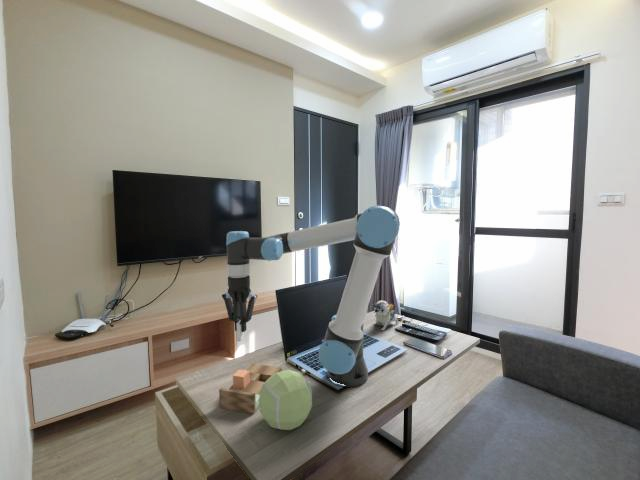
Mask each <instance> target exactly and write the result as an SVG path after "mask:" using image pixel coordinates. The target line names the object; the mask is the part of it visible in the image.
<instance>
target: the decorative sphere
mask: <svg viewBox="0 0 640 480" xmlns="http://www.w3.org/2000/svg"><path fill="white" fill-rule="evenodd" d="M312 392H313V391H312V387H311V385H310V384H309V382H308V380H307V379H306V378H305V377H304V376H303V374H301V373H299V372H298V371H295V370H294V371H293V370H290V369H285V370H282V371H281V372H278V373H275V374H273V375H272V376H271V377H270V378H268V379H267V380H266V382H265V383H264V384H263V386H262V389H261V391H260V396H259V408H258V410H259V413H260V414H261V416H262V417H263V419H264V420H265V421H266V422H267V424H268V425H269V427H271V428H272V429H278V430H283V431H292V430H293V429H297V428H298V427H299V426H301V425H302V424H303V423H304V422H305V421H306V419H307V418H308V416H309V413H310V412H311V409H312V407H313V393H312Z"/></svg>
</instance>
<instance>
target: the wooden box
mask: <svg viewBox="0 0 640 480" xmlns="http://www.w3.org/2000/svg"><path fill="white" fill-rule="evenodd" d="M246 371H249V373H250V382H249V383H248V385H247V386H246V387H245V388H238V387H233V384H232V385H231V386H230V387H229V388H224V387H223V388H222V387H220V388H219V390H218V395H219V396H218V397H219V408H220V409H225V410H232V411H237V412H242V413H249V414H253V415H254V414H256V412H258V410H259V396H260V391H261V389H262V386H263V384H264V383H265V382H266V380H267V379H268V378H270V377H271V376H272V375H273V374H275V373H278V372H281V371H283V368H282V367H281V366H274V365H265V364H259V363H252V364H250V366H249V367H248V368H247V369H246Z"/></svg>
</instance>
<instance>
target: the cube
mask: <svg viewBox="0 0 640 480" xmlns="http://www.w3.org/2000/svg"><path fill="white" fill-rule="evenodd" d="M246 370H247V369H246ZM246 370H245V369H238V370H237V371H236V372H235V373H234V374H232V385H233V387H238V388H245V387H246V386H247V385H248V383H249V382H250V373H249V371H246Z"/></svg>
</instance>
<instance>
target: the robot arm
mask: <svg viewBox="0 0 640 480" xmlns="http://www.w3.org/2000/svg"><path fill="white" fill-rule="evenodd" d="M400 224H401V223H400V217H399V216H398V214H397V213H396V211H395V210H393V208H391V207H388V206H385V205H384V206H383V205H373V206H369V207H368V208H367V209H365V210H364V211H363V212H362V213H357V214H356V215H355V216H354V217H352V218H349V219H348V218H347V219H343V220H339V221H335V222H329V223H325V224H322V225H321V224H320V225H316V226H311V227H307V228H302V229H298V230H293V231H289V232H284V233H279V234H278V233H277V234H274V235H270V236H267V237H266V236H265V237H250V233H249V232H248V231H243V230H239V231H238V230H236V231H235V230H234V231H228V232H227V233H226V243H225V246H226V259H227V264H226V265H227V271H226V273H227V276H228V277H227V286H228V289H227V292H225V293H223V294H221V297H222V299H223V300H224V304H225V307H226V312H227V316H228V320H229V321H230V322H231V321H232V322H233V323H234V331H235V332H236V341H237V342H242V341H244V340H245V338H246V337H245V332H247V323H249V322H250V321H251V320H252V318H253V317H252V316H253V311H254V307H255V303H256V300H257V298H258V295H257V294H253V293H252V290H251V278H250V277H251V276H250V272H251V271H250V260H256V261H258V260H259V261H268V262H271V261H279V260H280V259H281V258H282V256H283V255H285V254H289V253H294V252H298V251H305V250H309V249H314V248H319V247H325V246H330V245H334V244H335V245H336V244H340V243H345V242H350V241H353V244H352V245H353V248H355V254H354V257H353V260H352V263H351V267H350V270H349V273H348V277H347V280H346V283H345V286H344V289H343V292H342V296H341V300H340V303H339V306H338V309H337V312H336V314H335V315H333V316H331V321H329V323H328V326H327V328H326V332H325V335H324V339H323V342H322V343H321V344H320V346H319V348H318V360H319V362H320V364H321V366H322V367H323V368H324V369H325V370H326V372H327V374H328V376H329V378H331V379H332V380H333V381H335V382H337V383H340V384H344V385H346V388H347V387H348V388H350V387H351V388H352V387H354V388H355V387H357V386H361V385H363V384H365V383H366V382H367V380H368V378H369V371H368V367H367V364H366V360H365V358H364V357H365V356H364V325H365V324H364V320H365V317H366V314H367V311H368V309H369V304H370V301H371V298H372V295H373V293H374V289H375V285H376V283H377V280H378V277H379V274H380V270H381V268H382V264H383V261H384V259H386V258H388V257H390V256H391V253H392V250H393V247H394V244H395V241H396V238H397V236H398V234H399V231H400ZM247 303H248V304H247ZM328 376H327V377H328Z"/></svg>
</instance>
